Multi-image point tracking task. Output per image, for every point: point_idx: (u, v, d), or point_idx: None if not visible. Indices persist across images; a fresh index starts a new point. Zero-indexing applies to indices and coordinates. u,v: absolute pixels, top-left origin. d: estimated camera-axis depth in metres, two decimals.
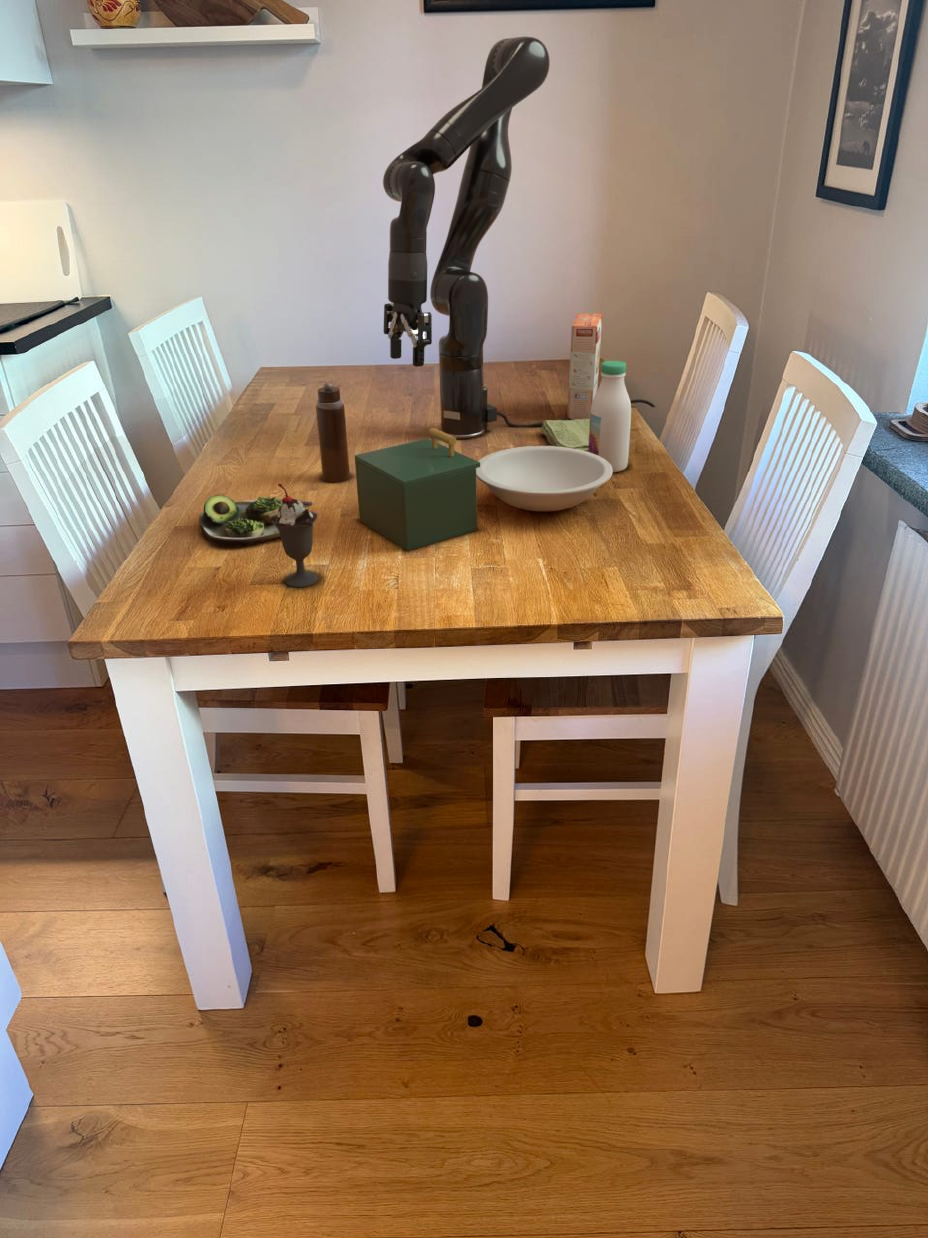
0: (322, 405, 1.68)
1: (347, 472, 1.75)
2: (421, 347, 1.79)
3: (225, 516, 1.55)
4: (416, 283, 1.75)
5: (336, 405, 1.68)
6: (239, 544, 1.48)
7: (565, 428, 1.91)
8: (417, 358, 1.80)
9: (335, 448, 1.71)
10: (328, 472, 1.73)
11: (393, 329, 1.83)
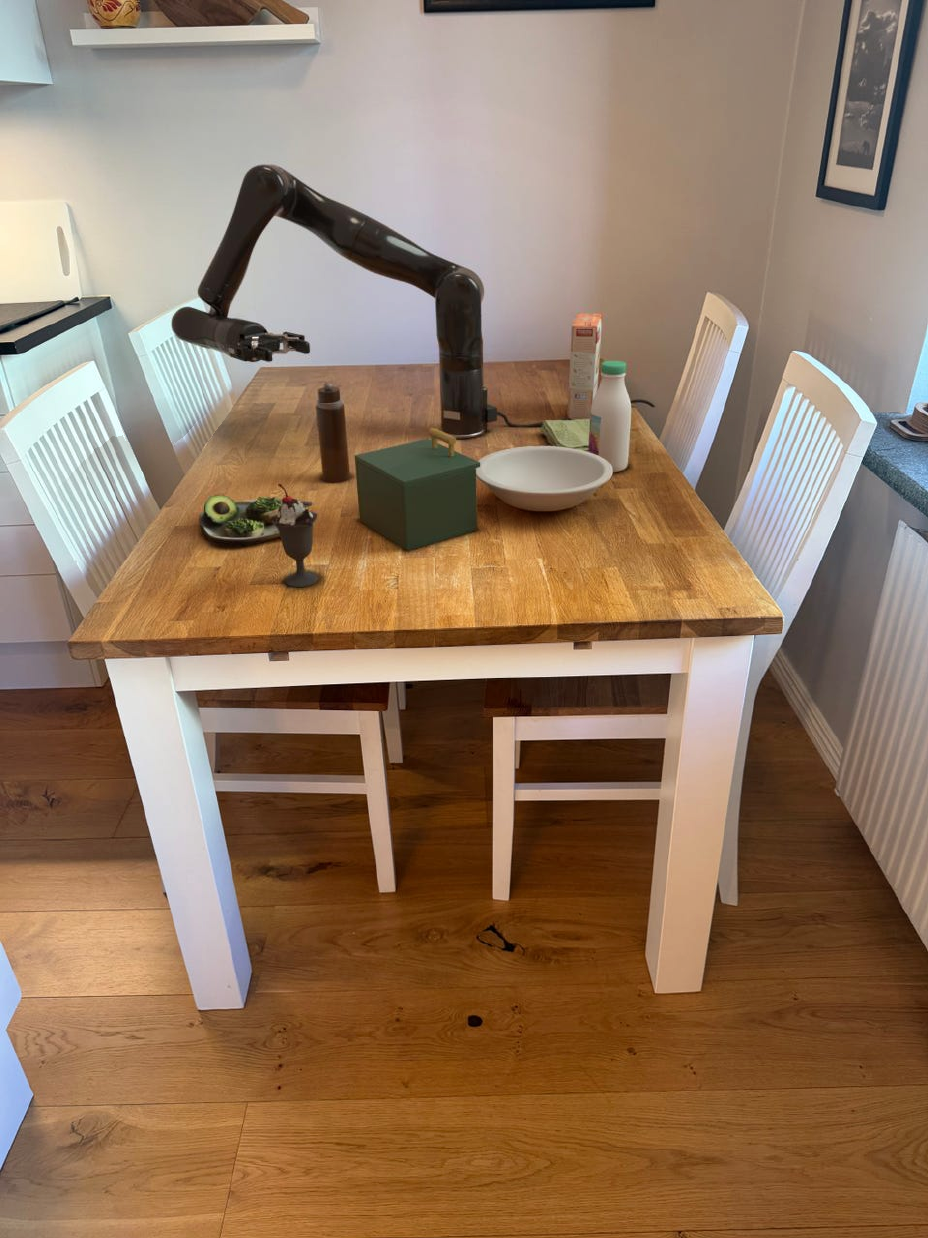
0: (322, 405, 1.68)
1: (347, 472, 1.75)
2: (253, 354, 1.72)
3: (225, 516, 1.55)
4: (228, 344, 1.80)
5: (336, 405, 1.68)
6: (239, 544, 1.48)
7: (565, 428, 1.91)
8: None
9: (335, 448, 1.71)
10: (328, 472, 1.73)
11: (284, 352, 1.79)
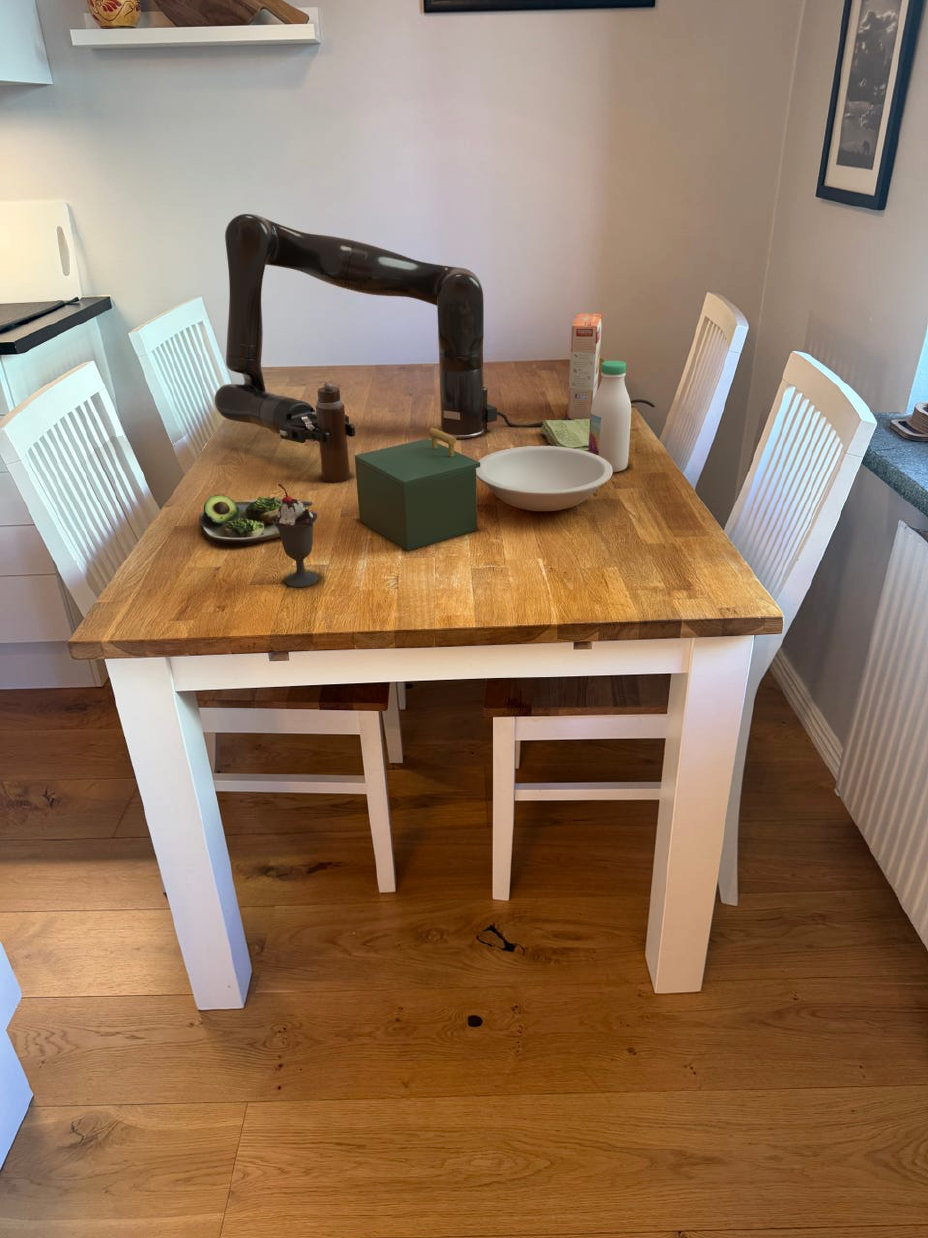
0: (322, 405, 1.68)
1: (347, 471, 1.75)
2: (310, 435, 1.70)
3: (224, 516, 1.55)
4: (274, 423, 1.78)
5: (336, 405, 1.68)
6: (239, 544, 1.48)
7: (565, 428, 1.91)
8: None
9: (335, 448, 1.71)
10: (328, 472, 1.73)
11: None
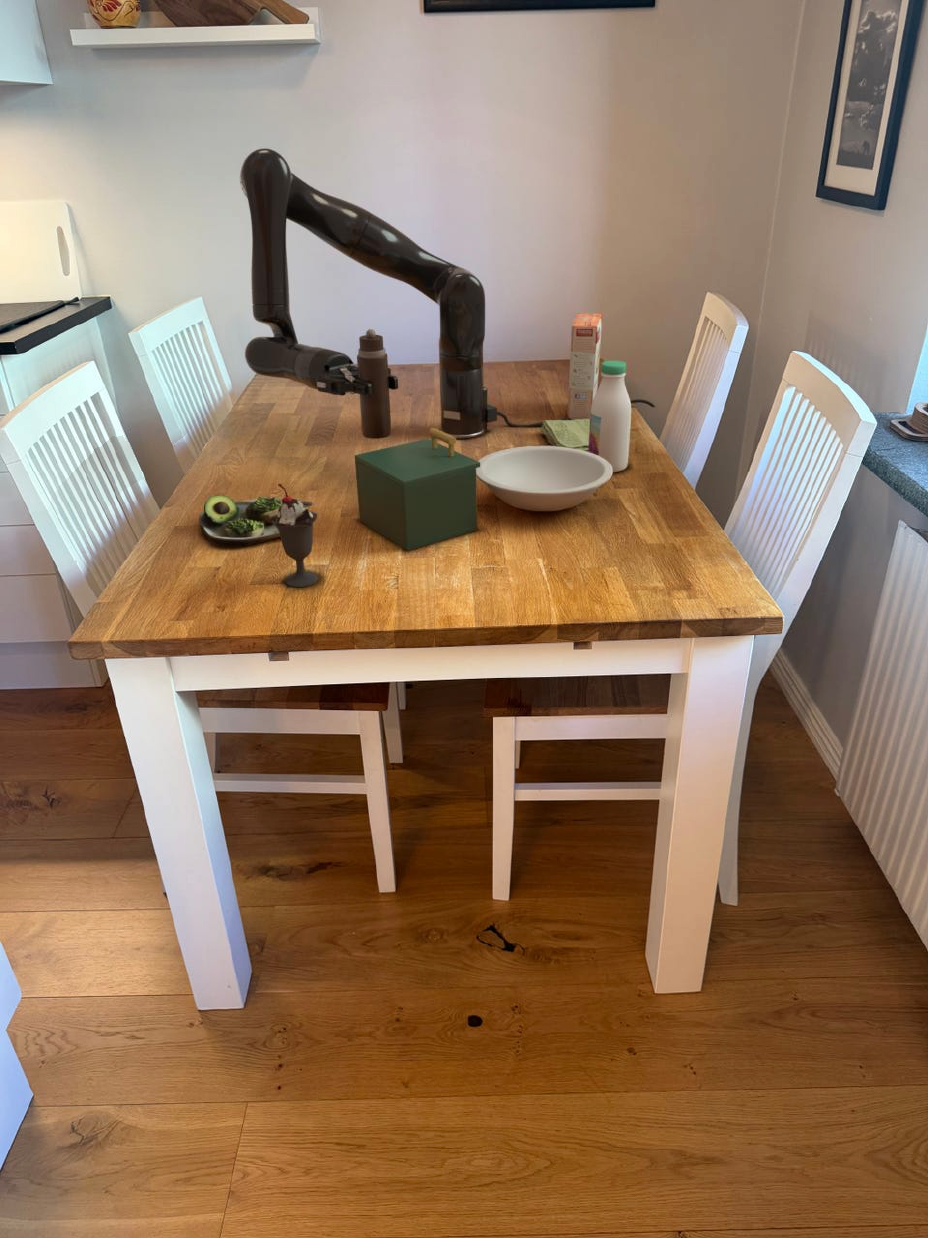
0: (364, 354, 1.56)
1: (389, 427, 1.63)
2: (351, 387, 1.58)
3: (225, 516, 1.55)
4: (310, 376, 1.67)
5: (379, 354, 1.56)
6: (239, 544, 1.48)
7: (565, 428, 1.91)
8: None
9: (377, 401, 1.59)
10: (368, 427, 1.62)
11: None
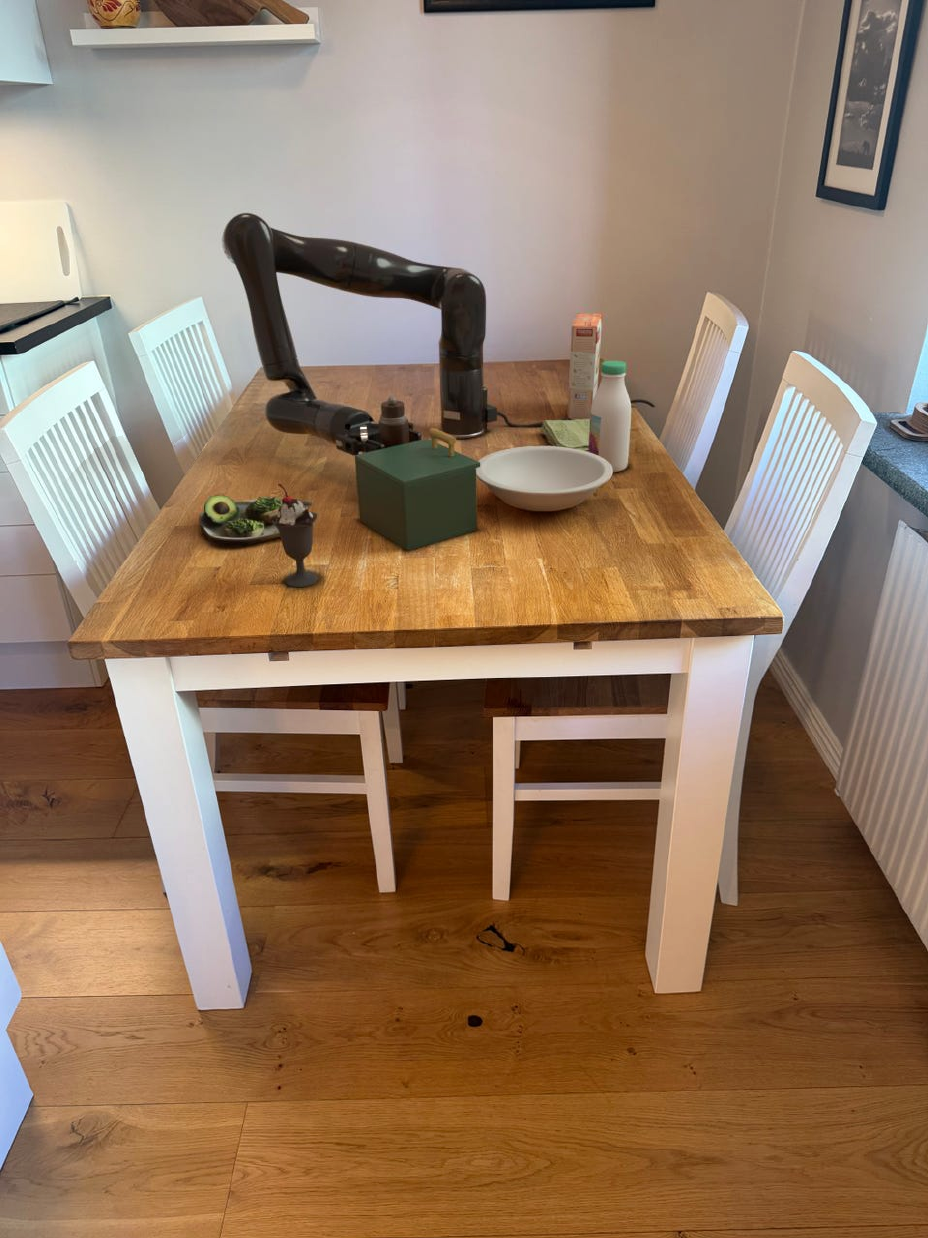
0: (386, 420, 1.59)
1: None
2: (364, 448, 1.61)
3: (224, 516, 1.55)
4: (331, 433, 1.69)
5: (400, 420, 1.59)
6: (239, 544, 1.48)
7: (565, 428, 1.91)
8: None
9: None
10: None
11: None
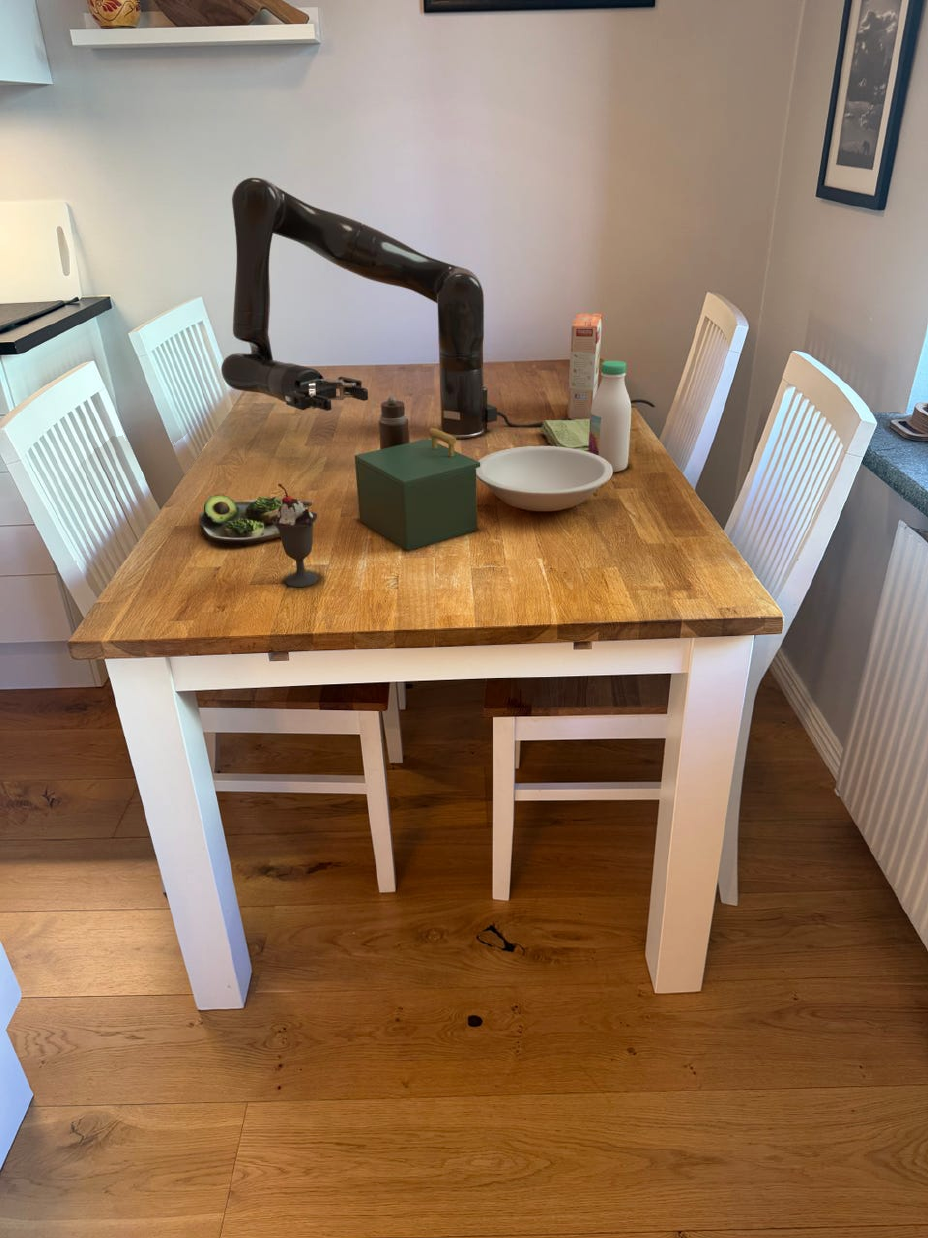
0: (386, 420, 1.59)
1: None
2: (311, 402, 1.67)
3: (225, 516, 1.55)
4: (282, 391, 1.75)
5: (400, 420, 1.59)
6: (239, 544, 1.48)
7: (565, 428, 1.91)
8: None
9: None
10: None
11: (340, 398, 1.74)
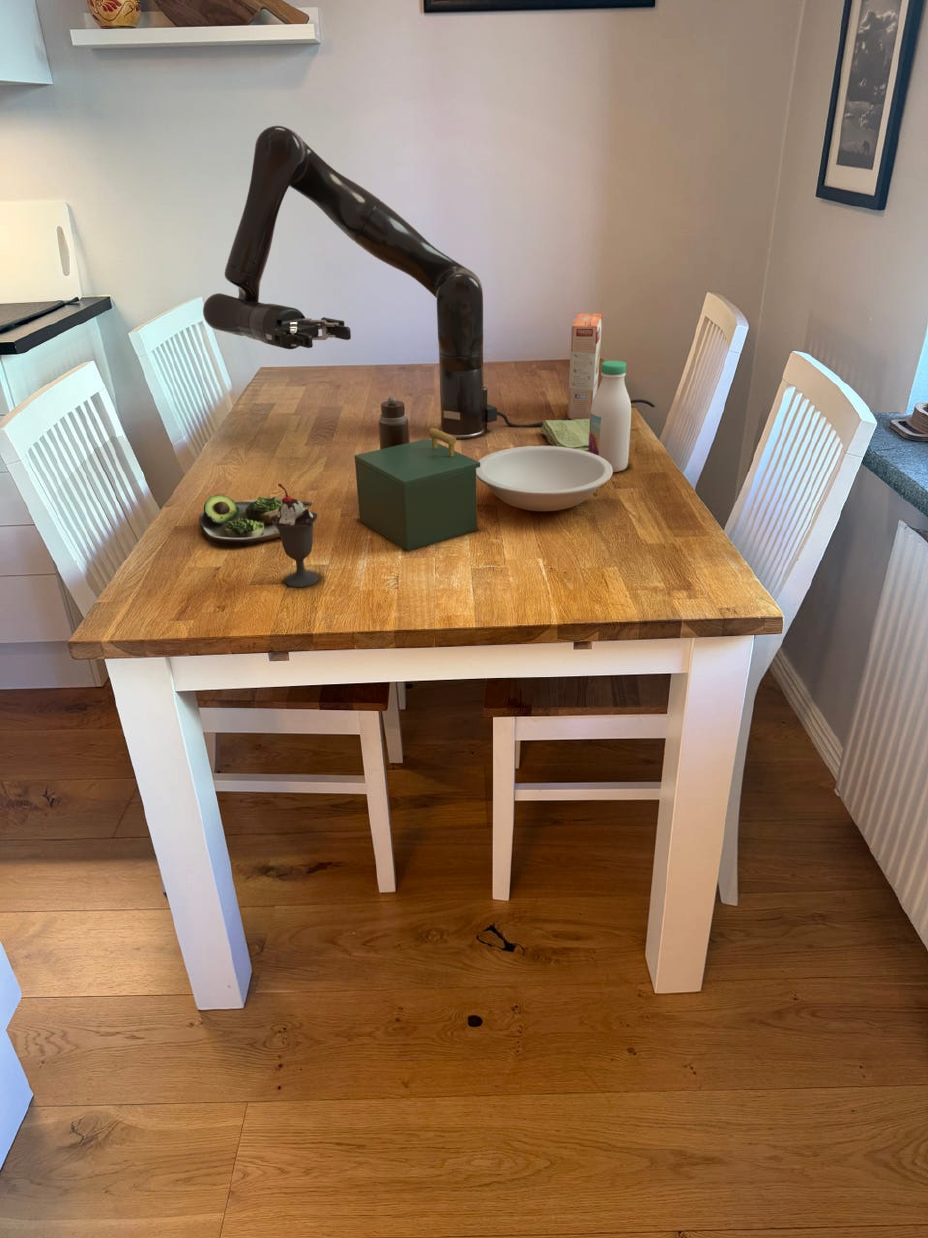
0: (386, 420, 1.59)
1: None
2: (292, 340, 1.64)
3: (224, 516, 1.55)
4: (264, 331, 1.72)
5: (400, 420, 1.59)
6: (239, 544, 1.48)
7: (565, 428, 1.91)
8: None
9: None
10: None
11: (323, 338, 1.71)
